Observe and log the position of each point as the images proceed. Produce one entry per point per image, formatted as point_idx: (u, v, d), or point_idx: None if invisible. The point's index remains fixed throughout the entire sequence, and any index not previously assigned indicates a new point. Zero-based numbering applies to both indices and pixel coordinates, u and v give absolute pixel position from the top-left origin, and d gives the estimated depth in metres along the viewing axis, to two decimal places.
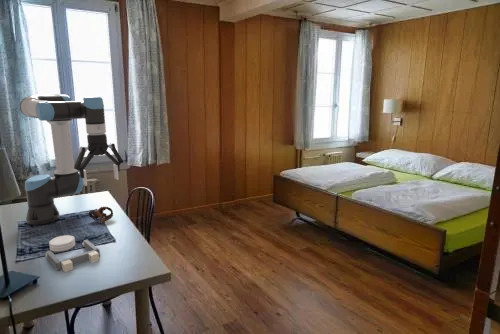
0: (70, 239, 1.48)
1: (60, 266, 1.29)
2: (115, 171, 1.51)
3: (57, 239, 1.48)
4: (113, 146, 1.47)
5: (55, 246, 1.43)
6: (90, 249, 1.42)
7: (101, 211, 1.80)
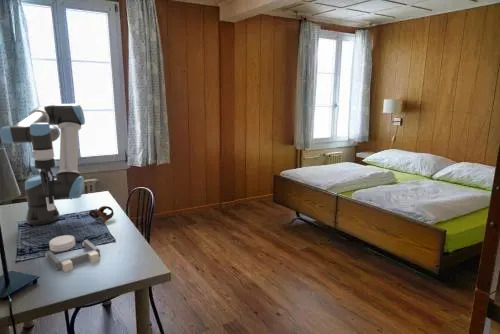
0: (70, 239, 1.48)
1: (60, 266, 1.29)
2: None
3: (57, 239, 1.48)
4: (47, 179, 1.44)
5: (55, 246, 1.43)
6: (90, 249, 1.42)
7: (101, 210, 1.80)
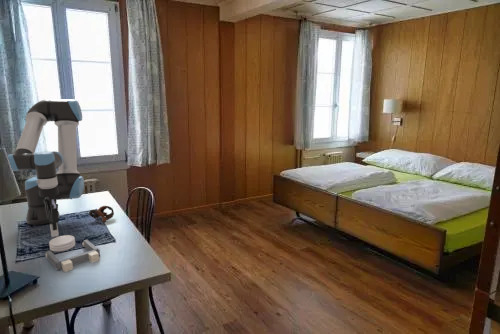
0: (70, 239, 1.48)
1: (60, 266, 1.29)
2: None
3: (57, 239, 1.48)
4: (51, 207, 1.47)
5: (55, 246, 1.43)
6: (90, 249, 1.42)
7: (102, 210, 1.81)
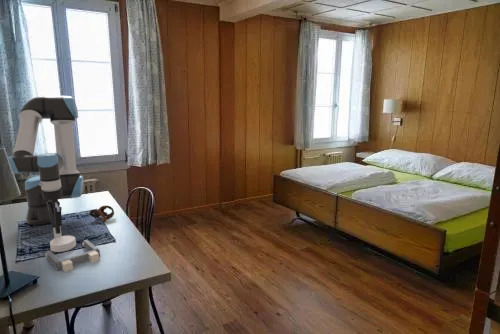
0: (71, 239, 1.47)
1: (60, 266, 1.29)
2: None
3: (58, 239, 1.47)
4: (54, 210, 1.43)
5: (56, 246, 1.42)
6: (90, 249, 1.42)
7: (102, 210, 1.81)
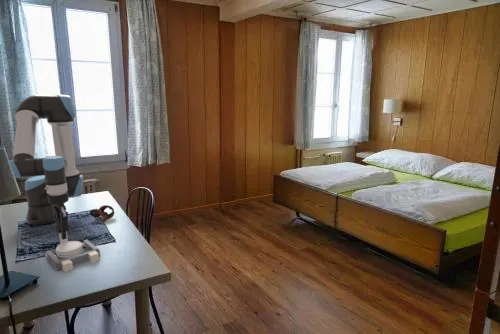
0: (78, 245, 1.42)
1: (60, 266, 1.29)
2: None
3: (64, 245, 1.42)
4: (60, 215, 1.38)
5: (63, 253, 1.37)
6: (90, 249, 1.42)
7: (102, 210, 1.82)
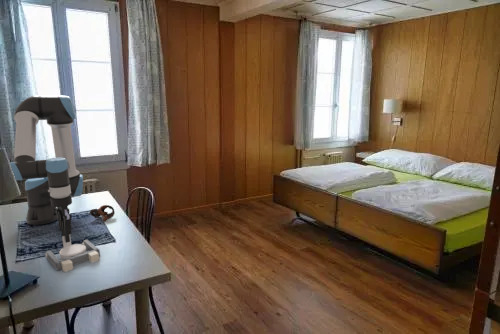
0: (81, 248, 1.40)
1: (60, 266, 1.29)
2: None
3: (67, 248, 1.39)
4: (64, 218, 1.35)
5: (66, 256, 1.34)
6: (90, 249, 1.42)
7: (102, 209, 1.82)
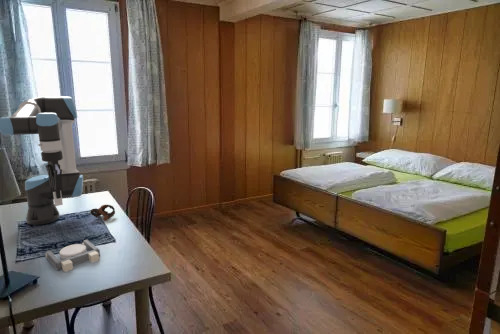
0: (81, 248, 1.40)
1: (60, 266, 1.29)
2: None
3: (67, 248, 1.39)
4: (54, 172, 1.35)
5: (66, 256, 1.34)
6: (90, 249, 1.42)
7: (103, 209, 1.83)
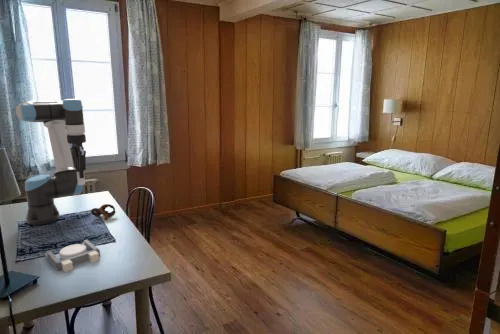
0: (81, 248, 1.40)
1: (60, 266, 1.29)
2: None
3: (67, 248, 1.39)
4: (79, 153, 1.48)
5: (66, 256, 1.34)
6: (90, 249, 1.42)
7: (103, 209, 1.83)
